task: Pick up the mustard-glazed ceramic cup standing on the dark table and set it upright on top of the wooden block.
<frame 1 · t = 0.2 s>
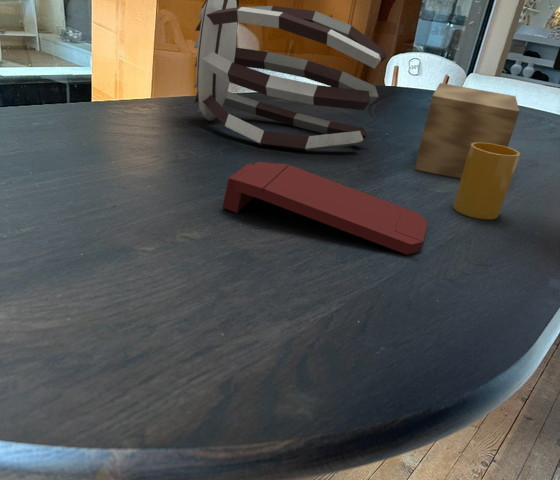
cup: (475, 211, 87), on the table
red hooked ramp: (325, 222, 76), on the table
wooden block: (456, 165, 109), on the table
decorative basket: (276, 136, 112), on the table
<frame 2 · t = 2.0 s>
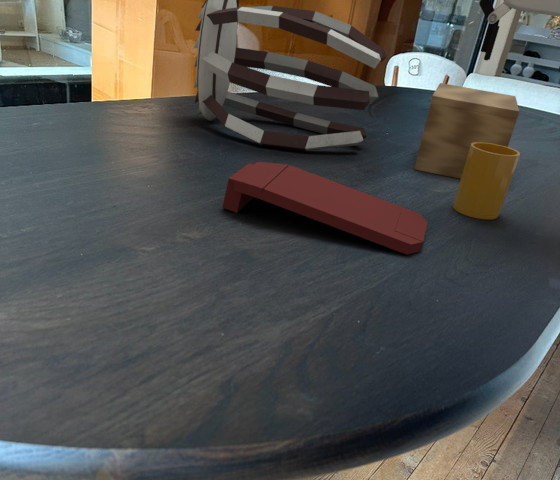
hand: (523, 66, 76), 19 cm above the table, tool pointing down, fingers open, 9 cm apart
nothing on the table moved.
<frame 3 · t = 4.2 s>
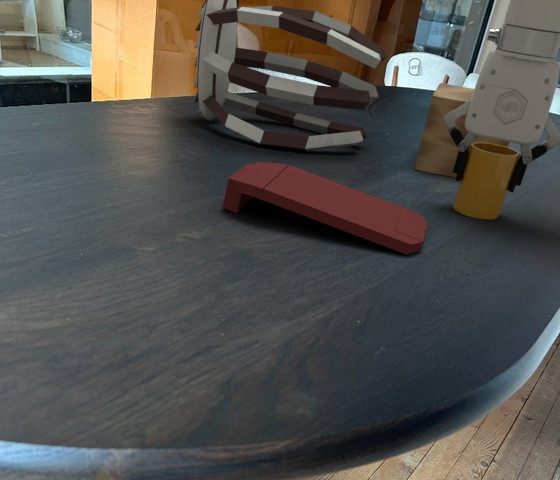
hand: (484, 183, 85), 4 cm above the table, tool pointing down, fingers closed on cup, 6 cm apart
cup: (475, 211, 87), on the table, touching gripper
everything else where it was.
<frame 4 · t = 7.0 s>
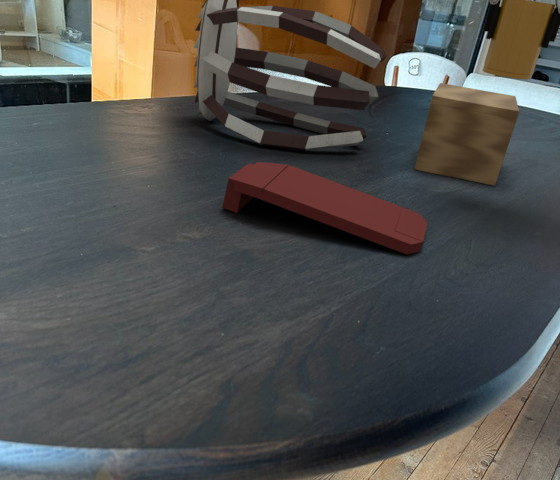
hand: (516, 41, 81), 22 cm above the table, tool pointing down, fingers closed on cup, 6 cm apart
cup: (506, 74, 84), point 18 cm above the table, touching gripper
everything else where it was.
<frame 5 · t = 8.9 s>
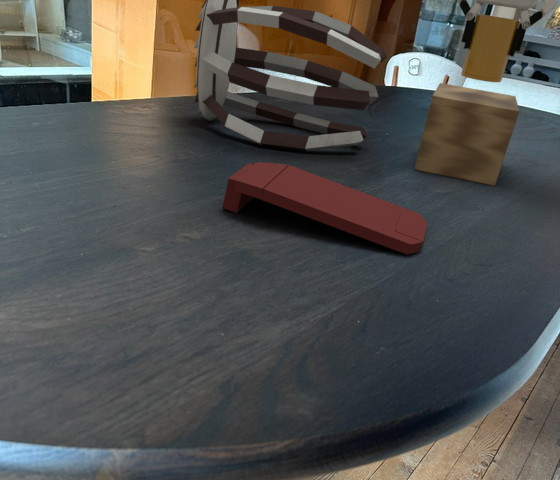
hand: (488, 51, 98), 19 cm above the table, tool pointing down, fingers closed on cup, 6 cm apart
cup: (480, 78, 101), point 15 cm above the table, touching gripper
everything else where it was.
when the fingers open (16 cm above the table, at t = 10.2 s): cup stays where it is, resting on wooden block.
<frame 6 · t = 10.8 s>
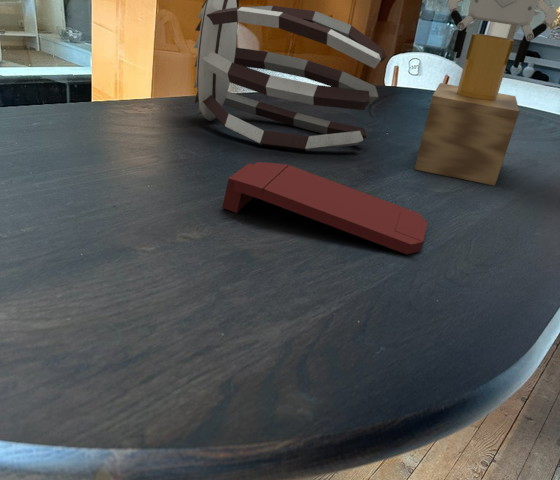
hand: (486, 62, 99), 17 cm above the table, tool pointing down, fingers open, 9 cm apart
cup: (476, 95, 102), point 12 cm above the table, touching wooden block
everything else where it was.
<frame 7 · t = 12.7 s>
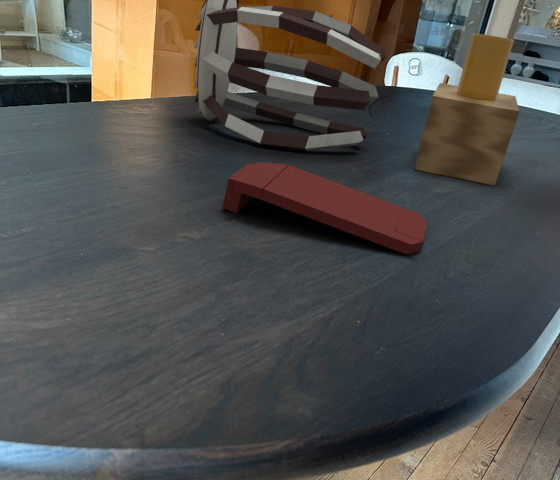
nothing on the table moved.
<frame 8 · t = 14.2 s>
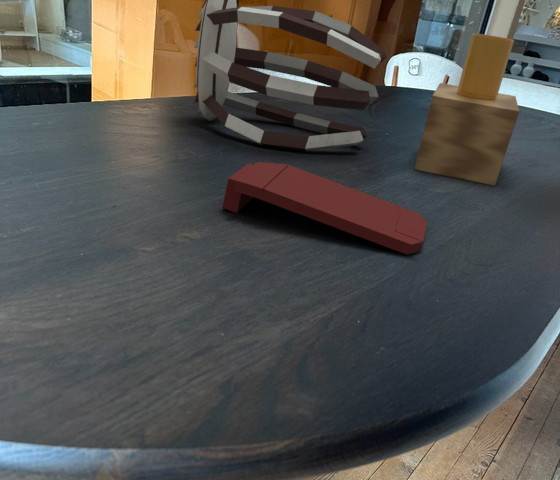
nothing on the table moved.
at the end: cup inside the target area on the wooden block (0.0 cm from its centre), point 12.0 cm above the wooden block's base; cup tilted 0°; the gripper is holding nothing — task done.
